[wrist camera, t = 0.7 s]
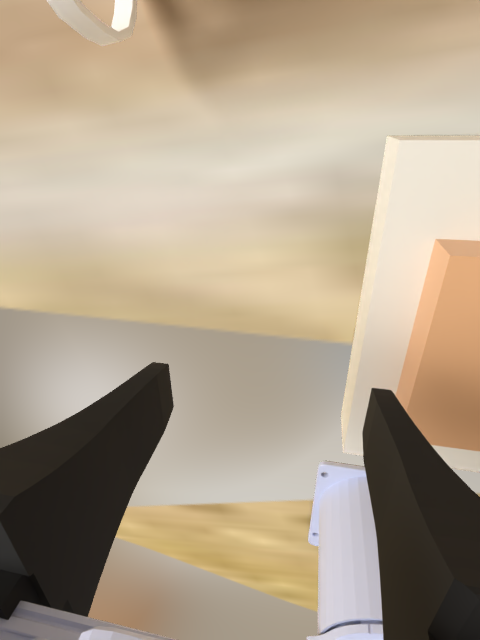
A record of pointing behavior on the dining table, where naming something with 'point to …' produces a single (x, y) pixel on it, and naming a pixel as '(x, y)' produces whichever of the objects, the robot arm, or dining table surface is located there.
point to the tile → (446, 349)
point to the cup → (98, 20)
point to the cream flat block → (408, 265)
